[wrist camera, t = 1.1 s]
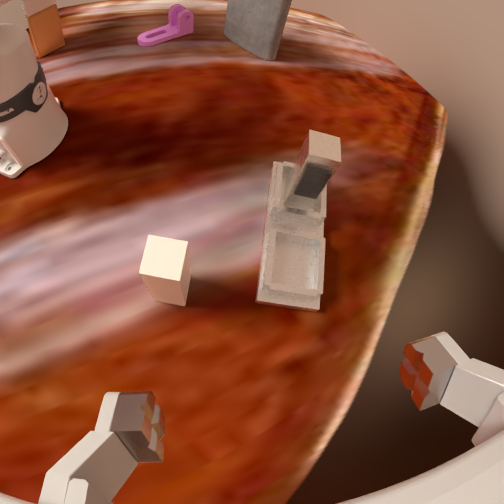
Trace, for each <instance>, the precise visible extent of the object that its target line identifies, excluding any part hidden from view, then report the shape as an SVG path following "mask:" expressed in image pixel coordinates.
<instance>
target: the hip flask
mask: <svg viewBox="0 0 504 504" xmlns="http://www.w3.org/2000/svg"><path fill="white" fill-rule="evenodd" d="M291 1H292V0H228V5H227V12H226V19H225V26H224V35H225V36H226V37H227V38H228V39H230V40H231V41H232V42H234V43H235V44H237V45H238V46H240V47H242V48H243V49H245V50H247V51H249V52H250V53H252V54H254V55H256V56H258V57H260V58H262V59H264V60H267V61H274V60H275V59H276V55H277V51H278V48H279V44H280V40H281V37H282V33H283V30H284V26H285V23H286V19H287V15H288V12H289V8H290V5H291Z"/></svg>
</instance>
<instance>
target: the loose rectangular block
mask: <svg viewBox="0 0 504 504" xmlns="http://www.w3.org/2000/svg"><path fill="white" fill-rule="evenodd" d="M139 274H140V276H141V278H142V280H143V281H144V283H145V285H146V286H147V288H148V290H149V291H150V293H151V295H152V296H153V298H154V300H155V301H159V302H164V303H170V304H175V305H180V306H185V305H186V300H187V294H188V289H189V284H190V278H191V274H190V262H189V248H188V242H187V241H182V240H176V239H170V238H165V237H159V236H154V235H148V239H147V242H146V246H145V250H144V254H143V258H142V262H141V266H140V270H139Z"/></svg>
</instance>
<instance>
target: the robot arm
mask: <svg viewBox="0 0 504 504" xmlns="http://www.w3.org/2000/svg"><path fill="white" fill-rule="evenodd" d="M9 1H11V0H0V6H1V5H3V4H5V3H7V2H9ZM67 128H68V118H67V115H66V114H65V113H64V111H63V110H62V109H61V107H60V102H59V100H58V98H55V97H54V95H53V93H52V91H51V89H50V88H49V86H48V84H47V82H46V78H45V75H44V72H43V68H42V67H41V65H40V63H39V62H38V61H36V58H35V55H34V52H33V49H32V45H31V42H30V39H29V36H28V33H27V31H26V30H25V29H24V28H23V27H21V26H19V25H17V24H12V23H5V24H0V174H2V175H5V176H7V177H10V178H15V177H17V176H18V175H19V174H21V173H22V172H23V171H24V170H25V169H26V168H27V167H29V166H31V165H33V164H35V163H37V162H39V161H41V160H42V159H44V158H45V157H46V156H48V155H49V154H50V153H51V152H52V151H53V150H54V149H55V148H56V147H57V146H58V145H59V144H60V142H61V141H62V139H63V138H64V136H65V134H66V131H67ZM10 169H11V170H10ZM404 354H405V356H406V357H405V359H404V360H403V361H402V362H401V366H400V376H401V380H402V382H403V384H404V386H405V388H407V389H409V390H411V391H412V396H411V397H412V399H413V401H414V402H415V404H416V406H417V407H418V409H419V410H423V409H425V408H428V407H431V406H433V405H436V404H438V403H440V404H441V405H442V406H444V407H446V408H447V409H449V410H451V411H452V412H454V413H456V414H457V415H459V416H461V417H462V418H464V419H466V420H467V421H469V422H471V423H472V424H474V425H476V426H477V427H479V428H478V430H477V431H476V433H475V434H474V436H473V438H472V442H473V444H474V446H475V447H474V448H472V449H471V450H469V451H467V452H465V453H463V454H461V455H460V456H458V457H456V458H454V459H452V460H450V461H448V462H446V463H444V464H442V465H440V466H438V467H436V468H433V469H431V470H429V471H427V472H425V473H423V474H420V475H418V476H416V477H413V478H411V479H408V480H406V481H404V482H401V483H398V484H396V485H393V486H390V487H388V488H385V489H382V490H379V491H377V492H374V493H370V494H368V495H364V496H362V497H358V498H355V499H351V500H348V501H344V502H341V503H337V504H504V370H503V369H500V368H498V367H495V366H492V365H490V364H487V363H485V362H482V361H479V360H477V359H474V358H473V359H469V357H468V356H467V355H466V354H465V353H464V352H463V350H462V349H461V348H460V347H459V346H458V345H457V344H456V342H455V341H454V340H453V339H452V338H451V337H450V336H449V335H448V333H446V332H441V333H438V334H435V335H432V336H429V337H426V338H423V339H420V340H417V341H414V342H411V343H408V344H407V345H406V346H405V348H404ZM155 400H156V398H155V396H154V394H153V393H152V392H151V391H137V392H107V393H106V394H105V395H104V398H103V402H102V405H101V409H100V412H99V416H98V420H97V423H96V427H95V431H90V432H89V433H88V434H87V435H86V436H85V437H84V438H83V439H82V440H81V441H79V442H78V443H77V444H76V445H75V446H74V447H73V448H72V449H71V450H70V451H69V452H68V453H67V454H66V455H65V456H64V457H62V458H61V459H60V460H59V461H58V462H57V463H56V464H55V465H54V466H53V467H52V468H51V469H50V470H49V471H47V473H46V476H45V480H44V484H43V487H42V491H41V495H40V499H39V503H38V504H113V503H112V502H111V500H112V499H113V497H114V496H115V495H116V493H117V492H118V491H119V489H120V488H121V487H122V485H123V484H124V482H125V481H126V480H127V478H128V477H129V476H130V474H131V473H132V472H133V470H134V469H135V467H136V466H137V465H138V462H163V450H164V444H163V443H162V441H161V438H162V436H163V435H164V434H165V419H164V415H163V412H162V410H161V408H160V407H159V406H157V405H156V404H155ZM0 504H34V503H31V502H28V501H24V500H21V499H18V498H15V497H12V496H9V495H6V494H3V493H0Z"/></svg>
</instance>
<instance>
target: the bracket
mask: <svg viewBox="0 0 504 504" xmlns="http://www.w3.org/2000/svg"><path fill="white" fill-rule="evenodd" d="M177 10H178V11H177ZM176 11H177V12H176ZM185 17H186V18H185ZM193 26H194V13H193V12H191V11H190V10H188V9H185V8H184V7H183V6H182V5H180V4H175V5H173V6H172V7H171V8H170V9H169V23H168V25H165V26H162V27H159V28H156V29H153V30H150V31H147V32H144V33H142V34H140V35H139V36H138V38H137V39H138V44H139V45H141V46H153V45H156V44H159V43H162V42H165V41H168V40H171V39H174V38H177V37H180V36H183V35H187V34H190V33H193Z"/></svg>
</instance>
